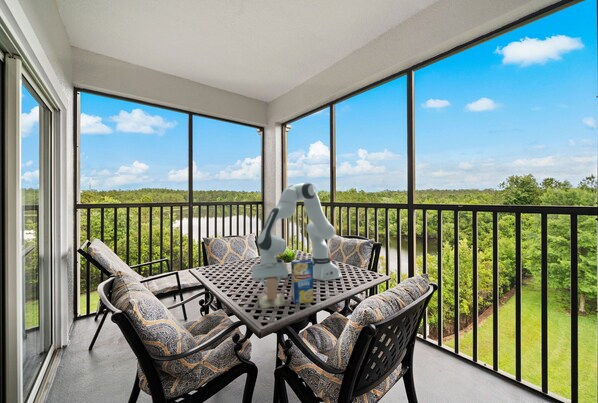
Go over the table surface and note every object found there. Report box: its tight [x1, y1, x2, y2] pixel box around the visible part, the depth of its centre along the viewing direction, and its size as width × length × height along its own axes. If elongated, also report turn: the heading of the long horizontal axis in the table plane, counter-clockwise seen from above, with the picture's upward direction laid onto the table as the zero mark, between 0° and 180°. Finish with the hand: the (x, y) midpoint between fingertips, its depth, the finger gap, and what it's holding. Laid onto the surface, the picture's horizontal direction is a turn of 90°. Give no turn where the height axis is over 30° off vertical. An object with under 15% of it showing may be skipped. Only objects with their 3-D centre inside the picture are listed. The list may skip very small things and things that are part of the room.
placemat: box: [257, 292, 287, 310], centre depth 143 cm, size 14×14×1 cm
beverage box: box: [290, 259, 314, 305], centre depth 144 cm, size 7×11×22 cm, turn 104°
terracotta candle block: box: [265, 277, 278, 300], centre depth 143 cm, size 5×5×10 cm
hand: (271, 286), depth 142 cm, fingers closed on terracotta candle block, 5 cm apart
